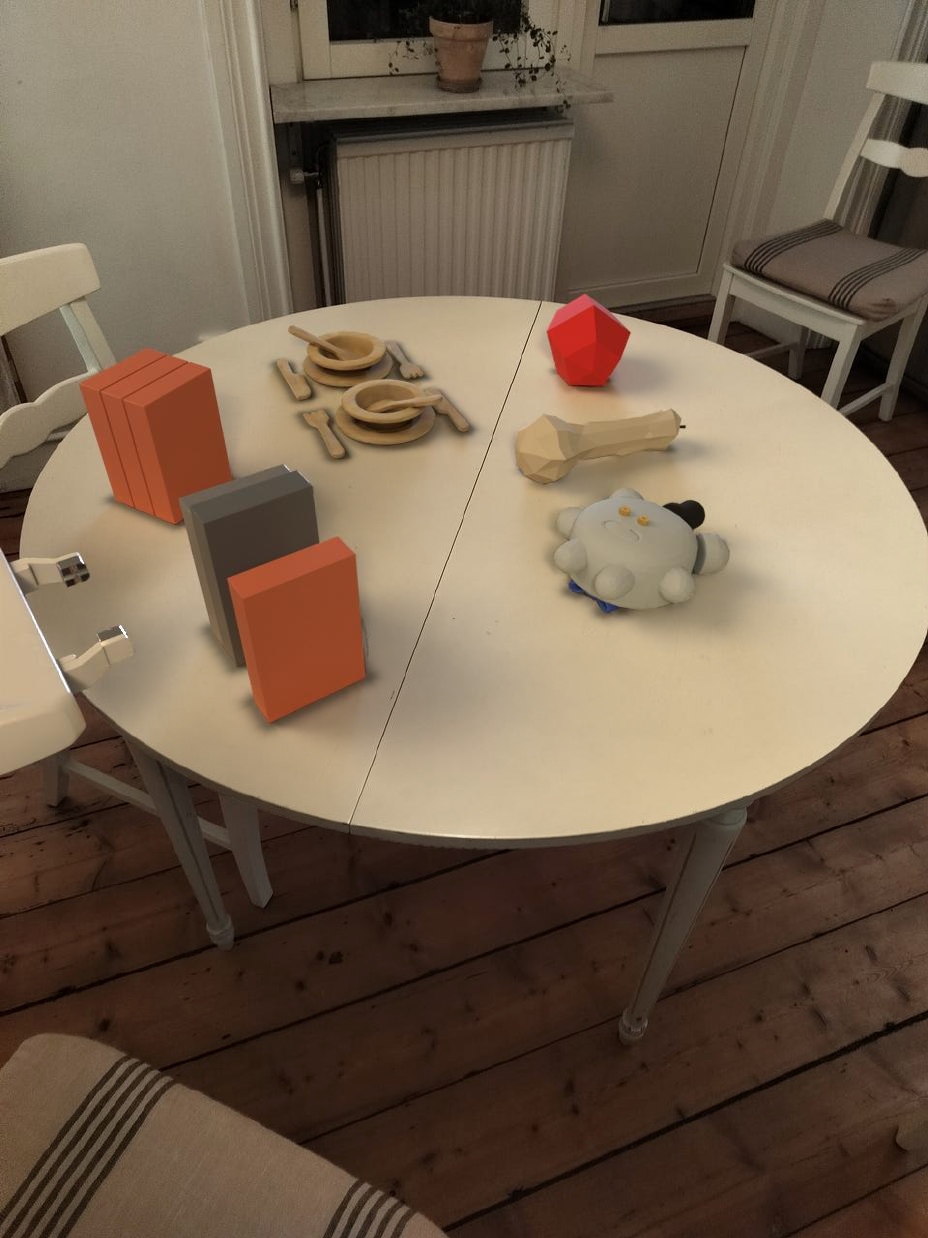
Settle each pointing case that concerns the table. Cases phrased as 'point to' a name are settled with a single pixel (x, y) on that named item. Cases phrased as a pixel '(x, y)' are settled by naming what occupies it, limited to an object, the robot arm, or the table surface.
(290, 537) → the grey books
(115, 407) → the matching books
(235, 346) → the table surface
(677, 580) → the figurine
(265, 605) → the terracotta book
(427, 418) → the tableware set
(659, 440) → the faceted club
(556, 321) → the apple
